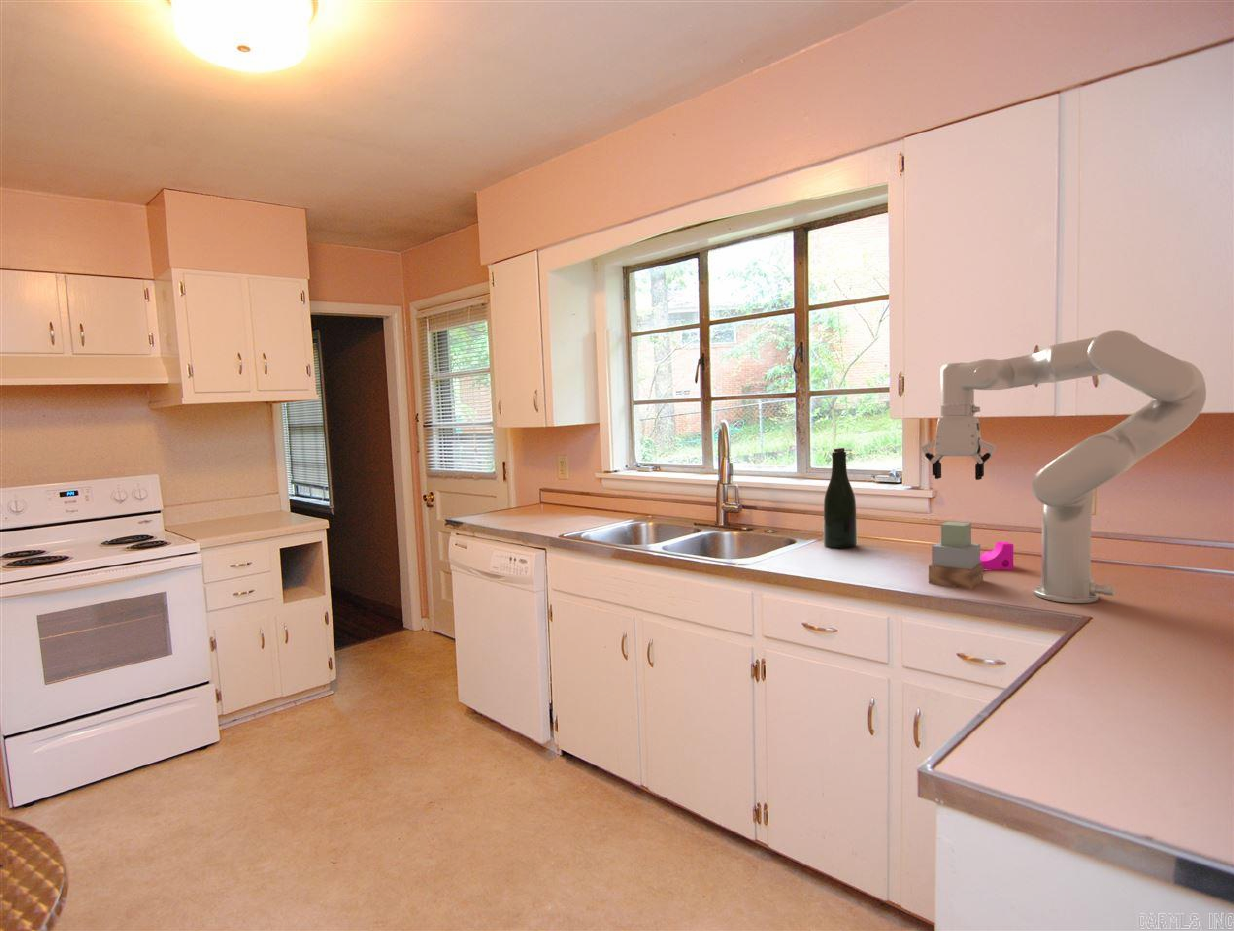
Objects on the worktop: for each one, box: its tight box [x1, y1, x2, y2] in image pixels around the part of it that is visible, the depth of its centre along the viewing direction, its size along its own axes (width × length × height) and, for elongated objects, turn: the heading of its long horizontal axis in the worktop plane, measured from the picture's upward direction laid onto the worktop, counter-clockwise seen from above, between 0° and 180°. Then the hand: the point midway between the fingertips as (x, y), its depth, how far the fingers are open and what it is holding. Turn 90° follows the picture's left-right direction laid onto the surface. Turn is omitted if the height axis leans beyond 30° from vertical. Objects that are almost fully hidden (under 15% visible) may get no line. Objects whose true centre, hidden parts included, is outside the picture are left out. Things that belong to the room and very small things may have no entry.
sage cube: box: [940, 520, 972, 548], centre depth 171 cm, size 6×6×6 cm
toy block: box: [980, 541, 1014, 570], centre depth 185 cm, size 15×6×8 cm, turn 85°
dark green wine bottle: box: [823, 447, 858, 550], centre depth 219 cm, size 10×10×33 cm
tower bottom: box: [928, 563, 984, 590], centre depth 172 cm, size 10×10×5 cm
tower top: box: [931, 541, 981, 570], centre depth 172 cm, size 9×9×5 cm
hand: (957, 478), depth 171 cm, fingers open, 9 cm apart
